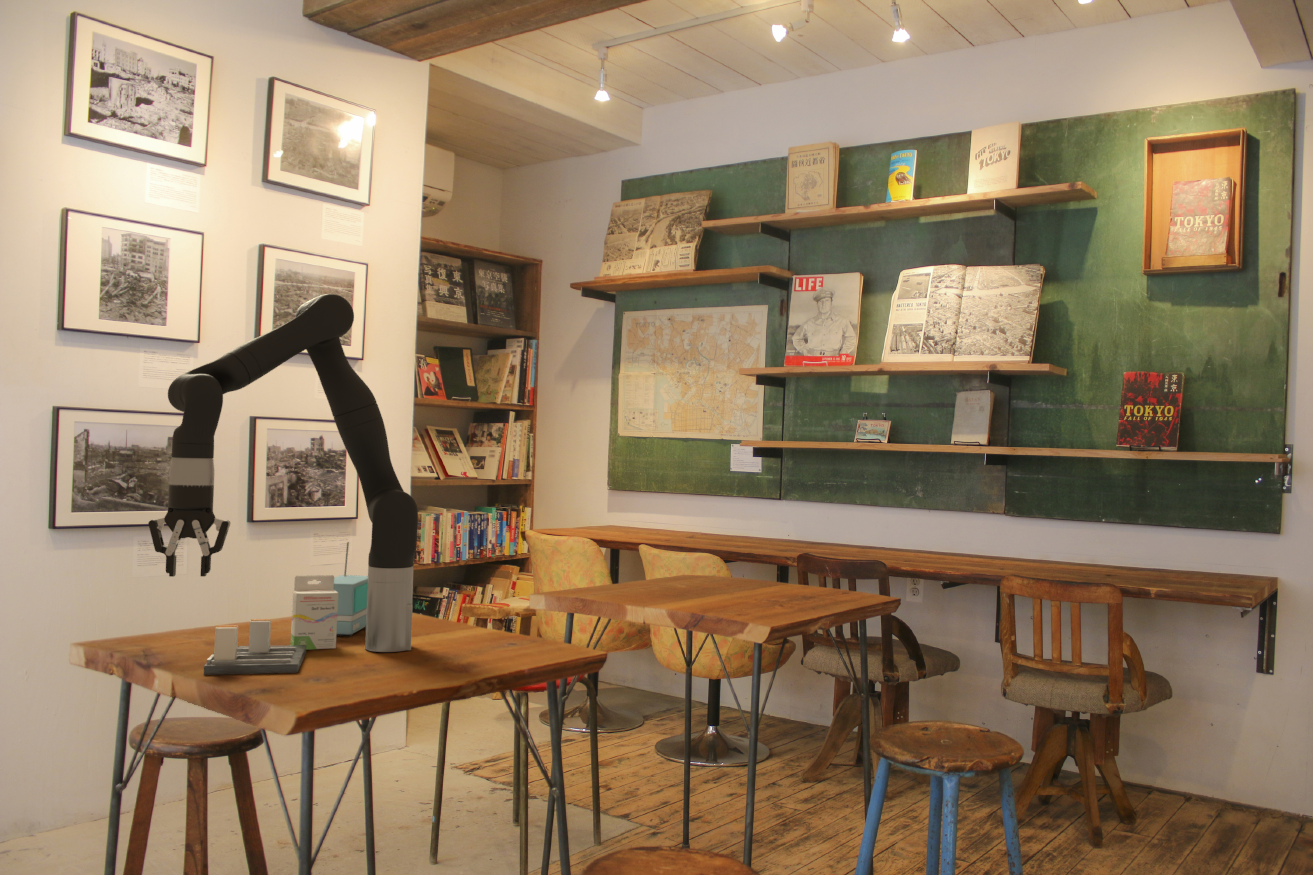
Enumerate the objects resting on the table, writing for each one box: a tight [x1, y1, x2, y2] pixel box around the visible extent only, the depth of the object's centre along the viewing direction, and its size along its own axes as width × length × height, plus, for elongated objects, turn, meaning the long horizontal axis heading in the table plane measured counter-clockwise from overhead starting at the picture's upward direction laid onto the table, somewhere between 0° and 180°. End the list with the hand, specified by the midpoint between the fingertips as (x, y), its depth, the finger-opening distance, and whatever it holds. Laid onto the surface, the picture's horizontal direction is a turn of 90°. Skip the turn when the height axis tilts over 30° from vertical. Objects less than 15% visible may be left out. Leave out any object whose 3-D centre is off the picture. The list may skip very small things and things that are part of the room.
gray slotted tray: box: [203, 644, 307, 676], centre depth 192 cm, size 16×19×2 cm
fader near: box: [213, 624, 239, 660], centre depth 186 cm, size 4×3×6 cm
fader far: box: [248, 618, 272, 652], centre depth 194 cm, size 4×3×6 cm
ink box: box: [289, 574, 338, 651], centre depth 210 cm, size 9×5×15 cm, turn 117°
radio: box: [318, 541, 368, 638], centre depth 230 cm, size 16×9×20 cm, turn 179°
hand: (187, 575), depth 184 cm, fingers open, 4 cm apart
